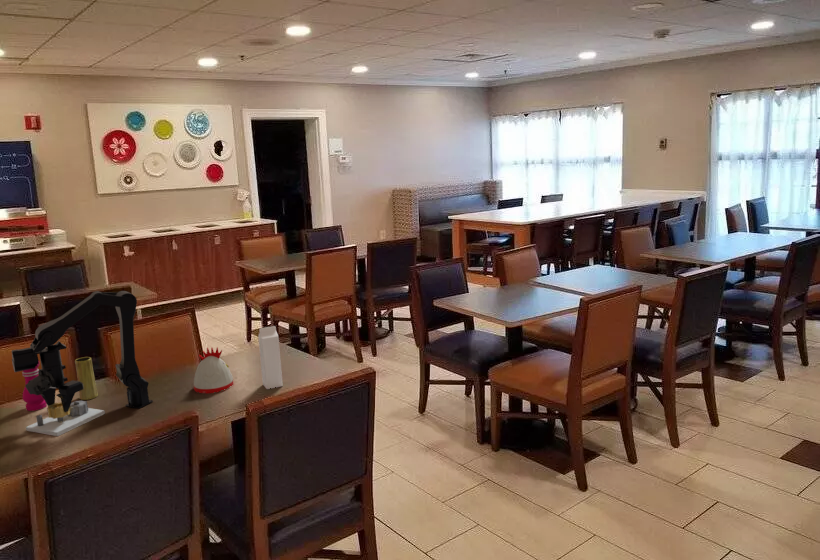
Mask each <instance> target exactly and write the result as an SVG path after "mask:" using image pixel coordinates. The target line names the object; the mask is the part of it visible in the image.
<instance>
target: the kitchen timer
mask: <svg viewBox="0 0 820 560" xmlns="http://www.w3.org/2000/svg"><path fill="white" fill-rule="evenodd" d="M210 349H211V351H210ZM210 349H209V347H207V348H206V351H204V350H202V354H203V356H202V354H199V355H198V356H199V358H200V359H201V361H200V362H199V363H198V365H197V368H196V370H195V374H194V377H193V390H194V392H196V393H198V392H199V393H198V394H214V392H216V393H220V392H219V391H221V390H224V389H227V388H229V387H230V386H232V385H233V386H234V377H233V374H232V372H231V370H230V368H229V367H230V366H229V365H228V364H227V363H226V362H225V361H224V360H223V359H221V356H222V352H223V349H221V350H220V351H219V347H218V346H216V349H215V350H216V351H214V348H213V347H211V348H210ZM233 386H232V387H233ZM229 389H230V388H229ZM227 390H228V389H227ZM224 391H225V390H224ZM221 392H222V391H221Z"/></svg>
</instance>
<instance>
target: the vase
mask: <svg viewBox="0 0 820 560" xmlns="http://www.w3.org/2000/svg"><path fill="white" fill-rule="evenodd" d="M74 364H75V369H76V370H75V371H76V377H77V381H80V382H82V383H83V387H84V389H83V390H81V391H78V393H79V395H78V397H79V400H80V401H88V400H93V399H95V398H97V397H98V396H99V392H98V389H97V384H96V377H95V373H94V368H93V367H94V365H93V360H92V357H90V356H84V357H79V358H76V359H75V360H74Z"/></svg>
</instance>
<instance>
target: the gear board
mask: <svg viewBox="0 0 820 560" xmlns="http://www.w3.org/2000/svg"><path fill="white" fill-rule="evenodd" d="M87 401H88V400H74V401H73V402H71V405H70V414H69V415H66V416H64V417H62V418H61V417H59V418H56V419H53V418H49V416H47V417H46V418H43V415H42V414H37V415H36V422H34V423H32V424H29V425H28V426H26V427H25V430H26V431H28V432H32V433H39V434H45V435H49V436H54V437H59V436H61V435H63V434H65V433H67V432H69V431H72V430H74V429H76V428H78V427H80V426H82V425H84V424H86V423H89V422H91V421H92V420H94V419H97V418H99V417H102V416H103V415H105V414H106V412H105V410H104V409H99V408H98V409H97V408H91V407H88V402H87Z"/></svg>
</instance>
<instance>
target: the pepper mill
mask: <svg viewBox="0 0 820 560" xmlns="http://www.w3.org/2000/svg"><path fill="white" fill-rule="evenodd" d="M39 366H40V363H39V364H37V366H36V367H35V368H34V369H29V370H24V371H21V374H22V377H24V380H25V385H26V384H27V383H28V382H29V381H30V380H32V379H34V378H35V377H37V376H38V375H39V374H38V371H39V370H40V369H39ZM25 385H24V388H23V392H22V401H23V402H24V403H26V404H25V409H26V411H28V412H34V411H39V410H43V409H44V408H46V407H48V405H47V403H46V402H45V400H44V399H43V397H42V396H41V395H35V394H30V393H29V392H28V390H27V388H26V387H25Z"/></svg>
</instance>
